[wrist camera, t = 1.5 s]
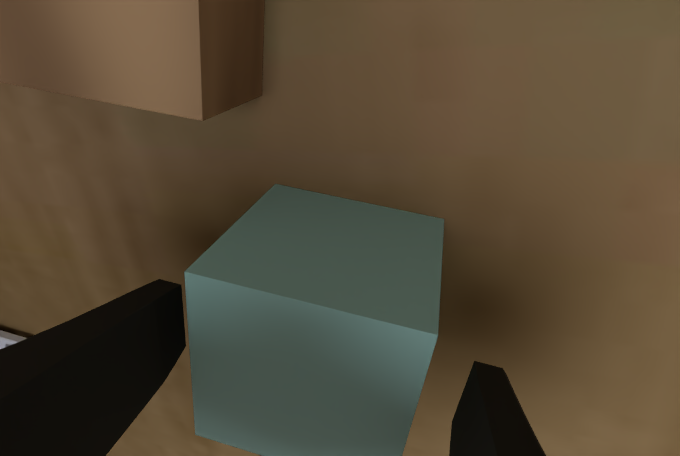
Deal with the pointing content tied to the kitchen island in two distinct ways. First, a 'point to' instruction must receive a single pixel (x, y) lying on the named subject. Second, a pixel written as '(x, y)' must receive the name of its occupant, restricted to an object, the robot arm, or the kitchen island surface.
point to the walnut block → (137, 51)
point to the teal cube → (314, 326)
